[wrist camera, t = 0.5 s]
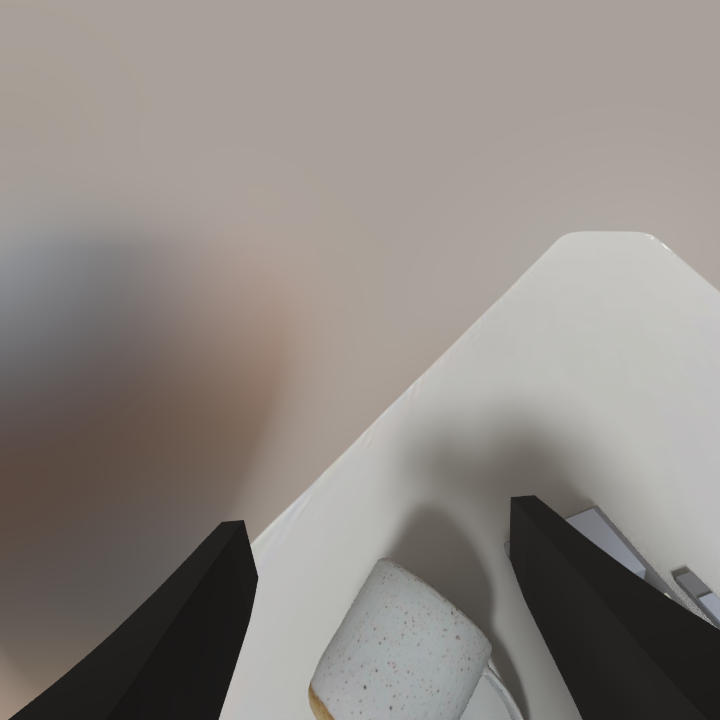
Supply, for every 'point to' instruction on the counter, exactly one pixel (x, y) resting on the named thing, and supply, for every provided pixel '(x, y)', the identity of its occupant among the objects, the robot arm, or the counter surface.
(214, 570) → the robot arm
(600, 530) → the slate key
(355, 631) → the ceramic mug
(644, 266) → the counter surface
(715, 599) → the strip
